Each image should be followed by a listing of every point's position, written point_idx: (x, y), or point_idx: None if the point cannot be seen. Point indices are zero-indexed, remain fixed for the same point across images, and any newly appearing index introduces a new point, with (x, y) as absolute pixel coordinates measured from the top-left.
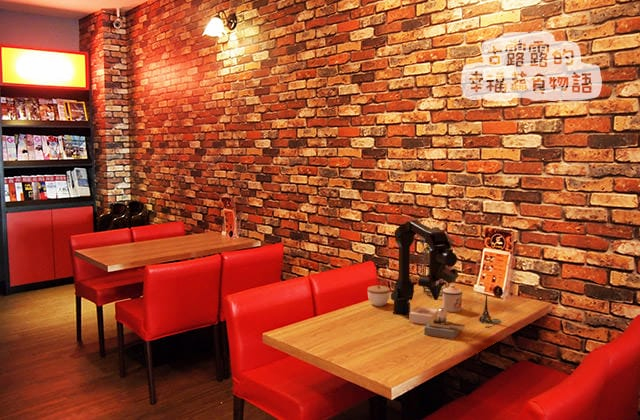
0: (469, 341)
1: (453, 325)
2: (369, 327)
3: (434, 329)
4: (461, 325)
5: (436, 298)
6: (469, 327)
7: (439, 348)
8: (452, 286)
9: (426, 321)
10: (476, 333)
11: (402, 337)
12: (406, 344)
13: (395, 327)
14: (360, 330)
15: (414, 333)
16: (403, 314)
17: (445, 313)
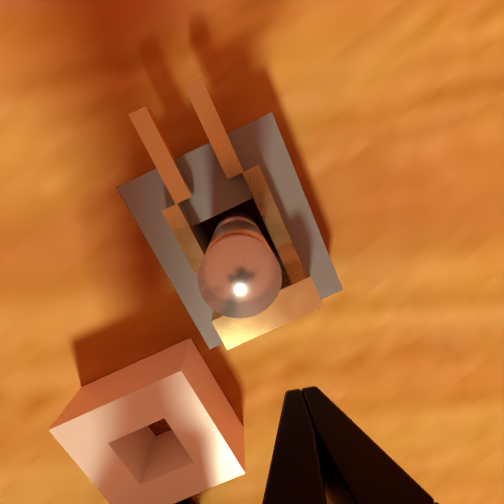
0: (226, 29)
1: (220, 158)
2: (424, 468)
3: (319, 235)
4: (159, 129)
5: (333, 404)
6: (30, 187)
7: (443, 87)
8: None
9: (202, 372)
10: (75, 88)
11: (433, 312)
12: (498, 240)
13: (347, 413)
14: (476, 463)
15: (350, 314)
16: (191, 501)
17: (243, 231)
